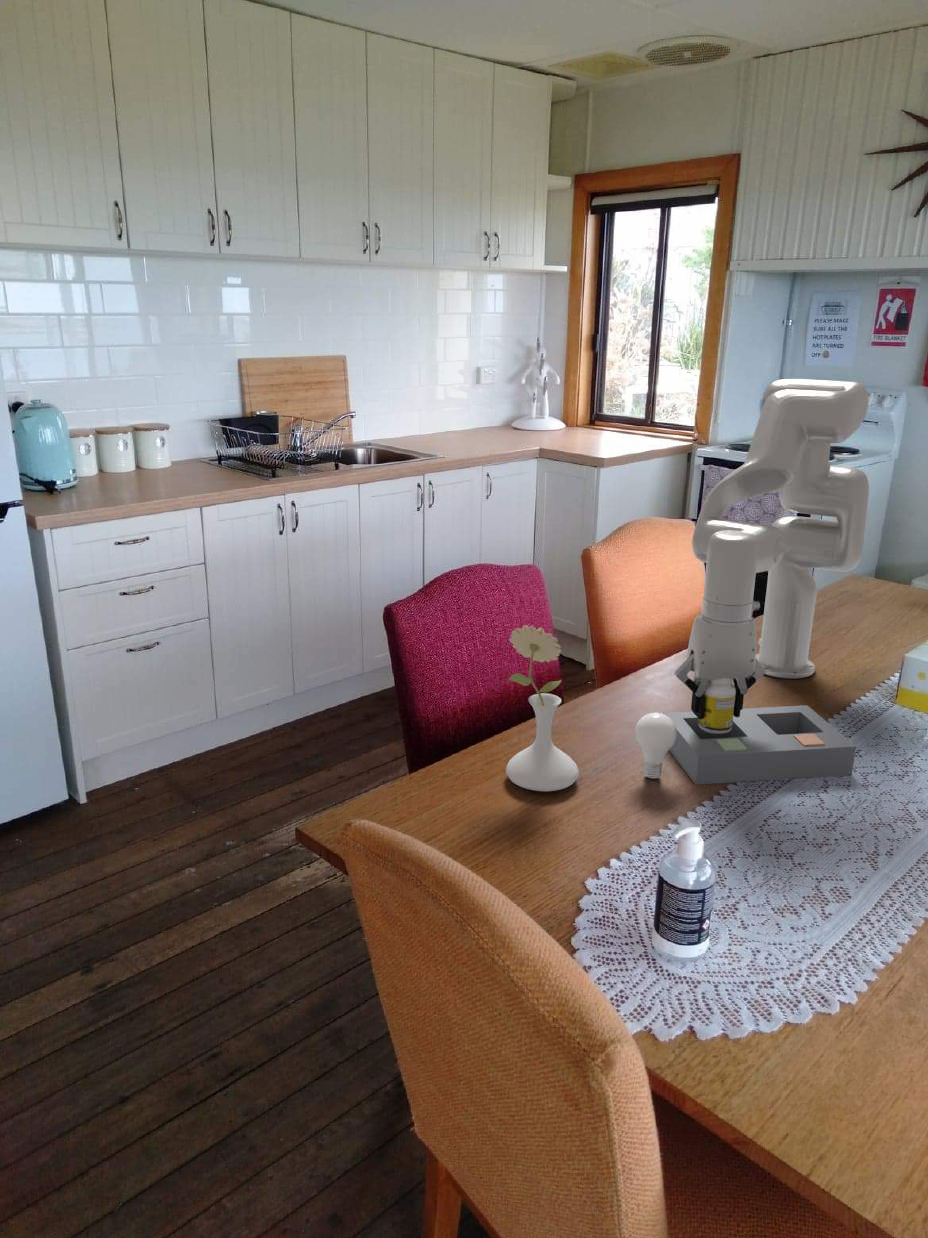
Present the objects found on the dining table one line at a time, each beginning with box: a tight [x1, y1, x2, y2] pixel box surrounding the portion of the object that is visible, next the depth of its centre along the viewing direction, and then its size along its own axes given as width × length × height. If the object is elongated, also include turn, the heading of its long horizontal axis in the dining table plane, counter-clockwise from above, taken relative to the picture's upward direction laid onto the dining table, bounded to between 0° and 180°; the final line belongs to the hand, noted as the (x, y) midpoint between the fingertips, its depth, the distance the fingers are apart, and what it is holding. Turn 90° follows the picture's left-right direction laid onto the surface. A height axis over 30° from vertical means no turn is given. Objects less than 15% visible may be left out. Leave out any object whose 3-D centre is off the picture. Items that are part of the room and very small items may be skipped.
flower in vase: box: [505, 624, 580, 792], centre depth 142 cm, size 13×11×25 cm
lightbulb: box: [634, 711, 677, 780], centre depth 145 cm, size 6×6×11 cm
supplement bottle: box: [698, 678, 736, 734], centre depth 151 cm, size 5×5×10 cm
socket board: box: [662, 704, 857, 786], centre depth 153 cm, size 16×26×5 cm, turn 98°
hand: (716, 713), depth 152 cm, fingers closed on supplement bottle, 5 cm apart
